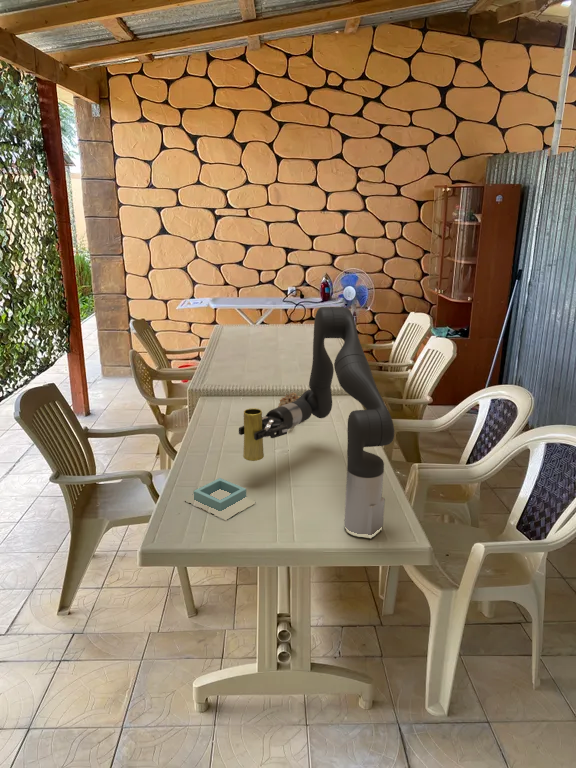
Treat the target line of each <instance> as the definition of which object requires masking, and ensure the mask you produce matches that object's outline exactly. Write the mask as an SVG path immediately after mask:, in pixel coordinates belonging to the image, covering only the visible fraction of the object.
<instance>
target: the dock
mask: <svg viewBox="0 0 576 768" xmlns="http://www.w3.org/2000/svg"><path fill="white" fill-rule="evenodd" d="M219 489H221V490H224V491H227V492H229V493H231V494H230V495H229V496H227V497H225V498H223V499H221V500H219V499H217V498H215V497H213V496H210V494H211V493H213V492H215V491H217V490H219ZM193 494H194V500H196V501H198V502H200V503H202V504H204V505H207V506H209V507H211V508H214V509H216V510H218V511H222V510H224V509H226V508H227V507H229V506H231V505H233V504H235V503H236V502H238V501H240V500H242V499H243V498H245V497H247V488H245V487H243V486H241V485H239V484H237V483H233V482H230V481H229V480H226V479H223V478H221V477H218V478H217V479H214V480H213V481H211V482H209V483H206V484H205V485H202V486H200V487H199V488H197V489H195V490H193Z"/></svg>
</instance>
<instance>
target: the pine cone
mask: <svg viewBox="0 0 576 768" xmlns="http://www.w3.org/2000/svg"><path fill="white" fill-rule="evenodd" d="M299 397H301V395H297V393H296V392H294V391H292V392H290V393H289V394H287V393H286V395H285V396H284V397H283V396H281V398H280V399H279V403H278V406H277V407H280V406H282V405H285V404H289V403H292V402H294V401H296V400H297V399H298V398H299Z"/></svg>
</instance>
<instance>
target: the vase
mask: <svg viewBox="0 0 576 768" xmlns="http://www.w3.org/2000/svg"><path fill="white" fill-rule="evenodd" d="M262 417H263V411H262V409H259V408H255V407H252V408H247V409H244V411H243V426H244V434H243V454H242V457H243V459H244V460H246V461H249V462H256V461H260V460H263V459H264V456H265V453H264V437H263V438H261V439H259V440H255V439H254V433H255V432H257V431H260V430H262Z"/></svg>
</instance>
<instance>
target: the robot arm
mask: <svg viewBox="0 0 576 768" xmlns="http://www.w3.org/2000/svg"><path fill="white" fill-rule="evenodd" d="M326 339H341V340H343V341H344V343H343V345H342V347H340V350H339V352H338V353H337V354H336V357H335V359H334V363H333V362H332V360H331V357H330V356H329V354H328V351H327V350H326V347H325V340H326ZM312 341H313V342H312V362H311V363H312V364H311V365H312V366H311V371H310V377H309V382H308V387H309V389H307V390H305V391H304V392H303V393H302V395H300V397H299V398H298V399H297V400H296V401H294V402H292V403H289V404H285V405H282V406H280V407H278V406H277V407H276V408H273V409H271V410H269V411H268V412H267V413H266V415H265V416H262V430H260V431H257V432H255V433H254V439H255V440H259V439H261V438H263V439H264V438H269V437H270V439H275V438H278V437H281V436H285V435H288V430H290V429H292V428H294V427H296V426H297V425H299V424H301V423H303V422H305V421H307V420H308V419H309V418H311V416H312V415H313V416H314V417H315V418H318V419H324V418H326V417H328V416H329V415H330V413H331V412H332V407H333V397H332V396H333V395H332V382H333V381H332V380H333V378H334V372H335V375H336V378H337V382H338V384H339V385H340V387H341V389H343V390H344V392H346V394H348V395H349V396H350V397H352V398H353V399H355V400H356V401H357V402H358V403H360V404H361V405H362V406H363V407H364V408H365V409H356V410H352V411H351V412H350V413H349V415H348V419H347V430H346V431H347V449H346V450H347V452H346V453H347V457H346V459H347V465H346V466H347V467H346V485H345V501H344V519H343V522H344V523H343V524H344V525H345V527H346V528H347V529H348V530H349V531H351V532H354V533H357V534H368V535H372V534H374V533H375V532H376V531H377V530H379V529H380V528H381V527H382V526H383V525H384V514H385V501H386V499H385V497H382V496H383V486H384V485H383V484H384V474H385V473H384V470H385V462H384V460H383V459H382V457H380V456H379V455H377V454H375V453H372V452H369V451H365V450H364V448H371V447H383V446H388V445H389V446H390V444H392V442H394V441H393V440H394V439H395V426H394V421H393V419H392V415H391V414H390V411H389V409H388V407H387V406H386V403H385V401H384V400H383V398H382V396H381V393H380V391H379V388H378V387H377V384H376V381H375V379H374V376H373V372H372V370H371V366H370V365H369V362H368V359H367V358H366V354H365V352H364V349H363V347H362V344H361V341H360V337H359V334H358V330H357V325H356V322H355V319H354V315H353V313H352V310H350V308H348V307H342V306H341V307H339V306H324V307H319V308H318V309H317V310H316V313H315V317H314V322H313V340H312ZM238 435H240V436H242V435H243V436H244V425H242V426H239V428H238ZM344 525H343V526H344ZM383 527H384V526H383Z"/></svg>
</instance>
